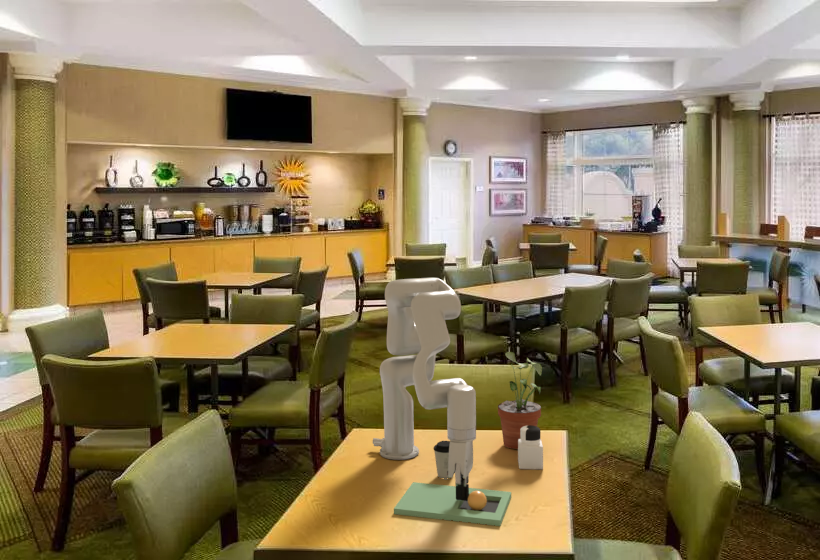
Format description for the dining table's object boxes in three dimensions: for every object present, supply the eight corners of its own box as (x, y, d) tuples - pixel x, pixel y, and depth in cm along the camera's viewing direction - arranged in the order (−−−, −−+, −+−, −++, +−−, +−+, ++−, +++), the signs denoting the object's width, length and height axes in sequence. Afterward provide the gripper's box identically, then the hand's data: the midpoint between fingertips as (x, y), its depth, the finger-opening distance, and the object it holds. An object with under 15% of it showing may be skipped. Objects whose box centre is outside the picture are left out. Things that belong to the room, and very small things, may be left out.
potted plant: (534, 456, 228) (534, 347, 224) (490, 448, 236) (490, 343, 232) (552, 442, 241) (552, 338, 237) (509, 434, 249) (509, 335, 245)
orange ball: (475, 517, 187) (462, 502, 187) (476, 509, 192) (464, 494, 192) (490, 506, 186) (477, 491, 186) (491, 498, 191) (479, 484, 191)
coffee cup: (455, 481, 209) (455, 448, 208) (431, 480, 210) (431, 447, 209) (458, 472, 216) (458, 440, 215) (435, 471, 217) (435, 439, 216)
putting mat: (393, 513, 188) (393, 508, 188) (413, 487, 206) (413, 482, 205) (500, 526, 180) (500, 520, 180) (511, 497, 198) (511, 492, 197)
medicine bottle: (541, 461, 224) (541, 423, 223) (543, 469, 217) (543, 431, 216) (517, 460, 225) (518, 423, 223) (519, 469, 218) (519, 430, 216)
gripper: (454, 422, 198) (455, 486, 200) (440, 440, 184) (441, 509, 186) (481, 424, 196) (481, 489, 198) (469, 442, 182) (470, 512, 184)
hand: (462, 499), depth 192 cm, fingers closed
